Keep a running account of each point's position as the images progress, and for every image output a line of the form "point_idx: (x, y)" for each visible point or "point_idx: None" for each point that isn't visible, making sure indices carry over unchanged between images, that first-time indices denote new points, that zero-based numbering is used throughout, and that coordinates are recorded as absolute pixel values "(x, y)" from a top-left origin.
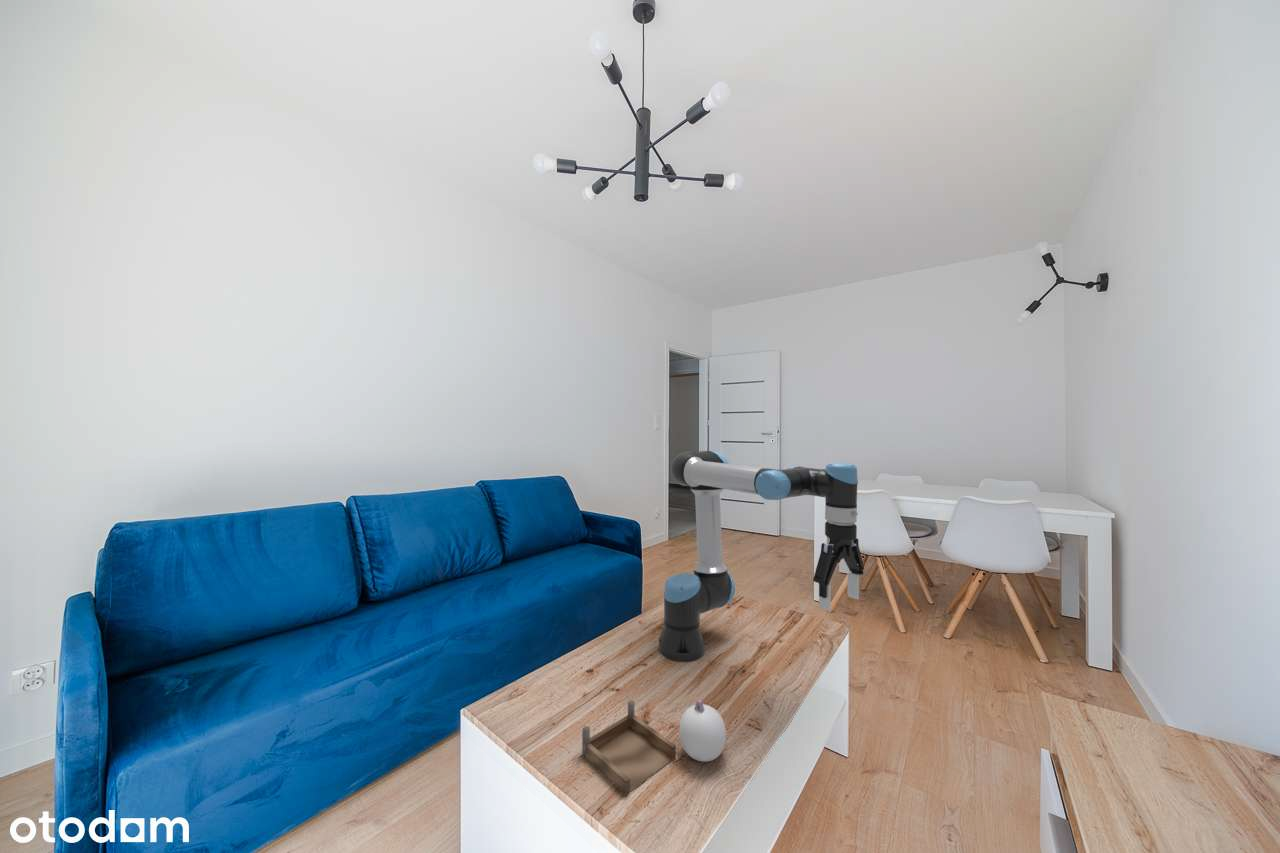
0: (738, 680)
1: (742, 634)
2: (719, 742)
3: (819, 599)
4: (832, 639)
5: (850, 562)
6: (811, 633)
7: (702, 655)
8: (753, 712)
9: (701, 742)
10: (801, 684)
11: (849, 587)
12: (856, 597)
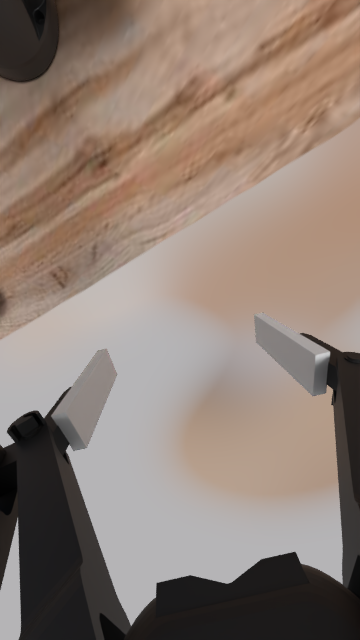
0: (82, 185)
1: (177, 11)
2: None
3: (87, 367)
4: (318, 142)
5: (340, 462)
6: (308, 97)
7: (42, 70)
8: (69, 259)
9: None
10: (165, 235)
11: (271, 332)
12: (259, 342)
